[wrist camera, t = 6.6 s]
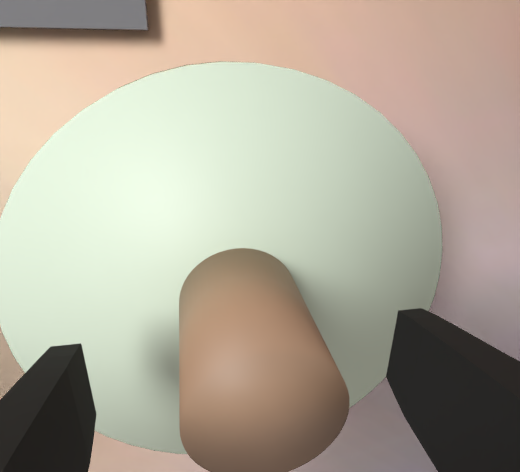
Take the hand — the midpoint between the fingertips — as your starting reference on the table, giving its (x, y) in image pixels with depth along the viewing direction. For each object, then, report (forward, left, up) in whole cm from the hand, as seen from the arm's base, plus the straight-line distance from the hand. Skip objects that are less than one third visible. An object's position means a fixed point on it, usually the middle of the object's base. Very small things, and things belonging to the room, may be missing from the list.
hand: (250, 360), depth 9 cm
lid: (0, 0, -3) cm, 3 cm away
